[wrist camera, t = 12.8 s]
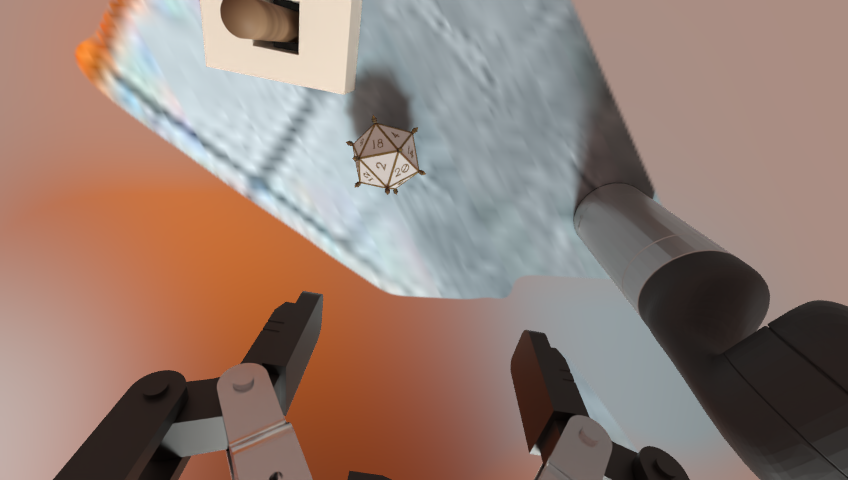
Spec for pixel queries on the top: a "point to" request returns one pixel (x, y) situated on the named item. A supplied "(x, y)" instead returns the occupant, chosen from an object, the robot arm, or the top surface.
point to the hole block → (311, 67)
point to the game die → (385, 156)
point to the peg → (260, 20)
